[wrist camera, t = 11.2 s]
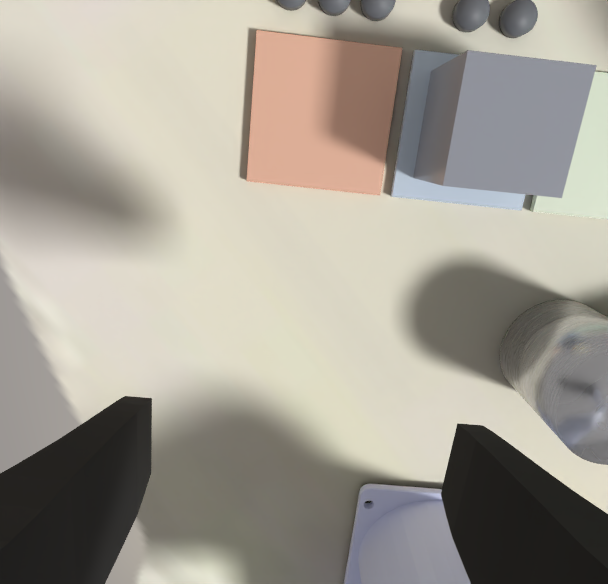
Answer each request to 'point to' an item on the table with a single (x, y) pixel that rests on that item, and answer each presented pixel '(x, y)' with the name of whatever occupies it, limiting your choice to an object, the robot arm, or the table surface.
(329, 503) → the table surface
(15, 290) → the table surface
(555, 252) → the table surface
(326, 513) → the table surface
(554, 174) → the marker cube
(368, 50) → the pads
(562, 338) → the grey tin
